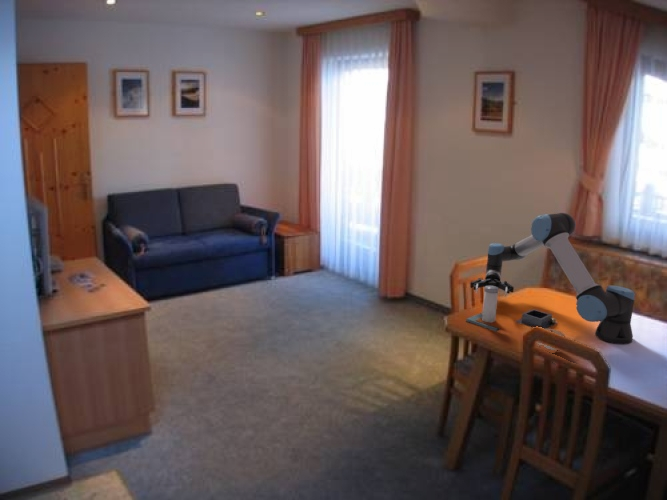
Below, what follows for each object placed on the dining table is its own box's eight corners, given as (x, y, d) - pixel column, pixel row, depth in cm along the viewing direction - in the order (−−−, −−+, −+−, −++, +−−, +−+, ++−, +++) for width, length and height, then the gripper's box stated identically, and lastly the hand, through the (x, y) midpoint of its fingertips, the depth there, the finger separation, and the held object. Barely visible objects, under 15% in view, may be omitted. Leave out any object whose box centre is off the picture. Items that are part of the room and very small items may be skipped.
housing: (557, 326, 294) (558, 315, 292) (542, 333, 284) (543, 322, 283) (529, 317, 303) (531, 306, 302) (514, 324, 294) (515, 313, 293)
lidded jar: (557, 358, 259) (560, 336, 257) (531, 351, 266) (534, 330, 263) (565, 350, 268) (568, 329, 265) (540, 343, 274) (543, 322, 271)
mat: (510, 325, 293) (510, 322, 293) (496, 331, 285) (496, 328, 285) (480, 315, 304) (480, 313, 304) (466, 321, 296) (466, 318, 296)
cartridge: (497, 320, 295) (501, 288, 290) (490, 324, 290) (493, 290, 286) (486, 317, 299) (489, 284, 295) (478, 320, 295) (482, 287, 290)
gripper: (517, 289, 316) (517, 302, 297) (466, 283, 323) (463, 296, 303) (519, 274, 314) (519, 287, 295) (468, 269, 321) (464, 281, 301)
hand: (491, 292), depth 299 cm, fingers open, 13 cm apart
